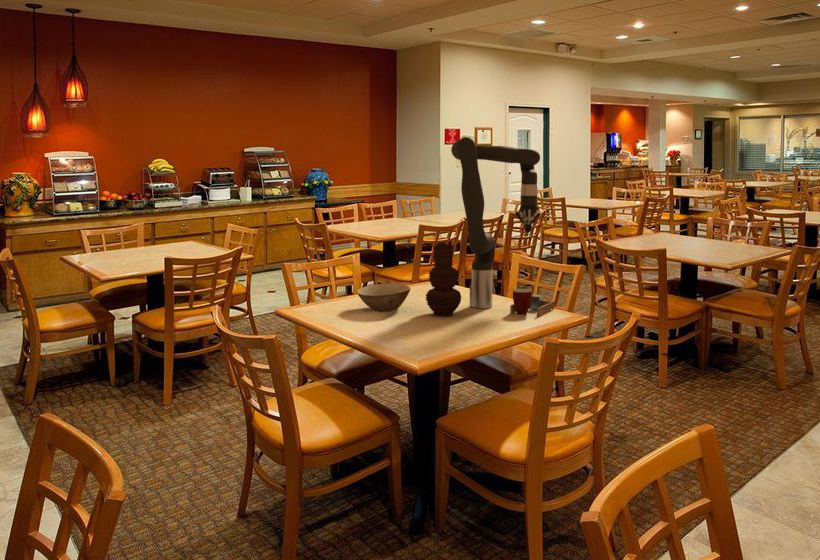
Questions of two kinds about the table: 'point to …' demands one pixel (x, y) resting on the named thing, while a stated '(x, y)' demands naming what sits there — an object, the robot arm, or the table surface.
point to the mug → (522, 300)
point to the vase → (443, 282)
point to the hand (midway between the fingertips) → (528, 232)
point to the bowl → (384, 296)
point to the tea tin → (536, 301)
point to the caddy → (540, 311)
